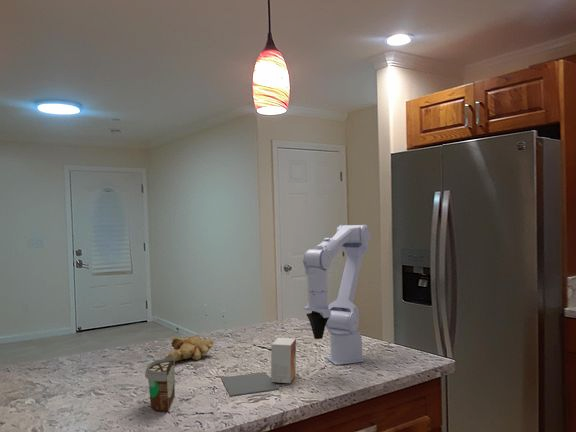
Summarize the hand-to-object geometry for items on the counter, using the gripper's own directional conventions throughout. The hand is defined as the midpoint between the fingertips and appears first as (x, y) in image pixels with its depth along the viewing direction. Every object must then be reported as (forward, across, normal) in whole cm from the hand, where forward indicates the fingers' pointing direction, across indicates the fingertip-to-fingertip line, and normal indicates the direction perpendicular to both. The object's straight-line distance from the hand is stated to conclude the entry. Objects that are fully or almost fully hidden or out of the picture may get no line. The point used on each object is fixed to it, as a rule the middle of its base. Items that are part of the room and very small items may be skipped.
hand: (318, 338), depth 134 cm
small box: (+11, 0, -10) cm, 15 cm away
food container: (+12, +6, -44) cm, 46 cm away
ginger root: (+11, -32, -34) cm, 48 cm away
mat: (+11, 0, -20) cm, 23 cm away
